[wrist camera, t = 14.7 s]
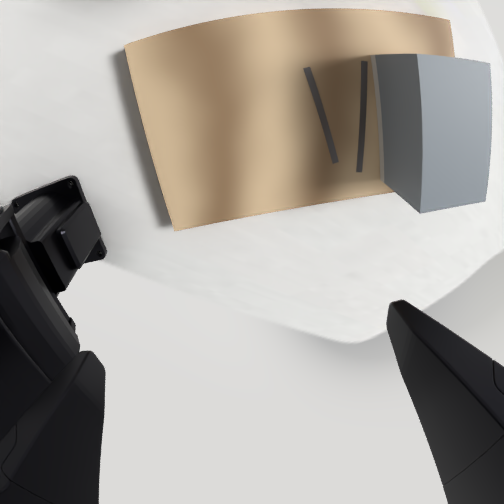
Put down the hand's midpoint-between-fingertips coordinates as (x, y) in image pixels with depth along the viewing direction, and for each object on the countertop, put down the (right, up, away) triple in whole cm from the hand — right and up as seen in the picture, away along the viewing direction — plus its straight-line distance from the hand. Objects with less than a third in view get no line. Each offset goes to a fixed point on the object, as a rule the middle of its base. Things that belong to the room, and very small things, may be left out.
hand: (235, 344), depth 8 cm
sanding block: (+10, +11, +8) cm, 17 cm away
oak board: (+4, +11, +9) cm, 15 cm away
